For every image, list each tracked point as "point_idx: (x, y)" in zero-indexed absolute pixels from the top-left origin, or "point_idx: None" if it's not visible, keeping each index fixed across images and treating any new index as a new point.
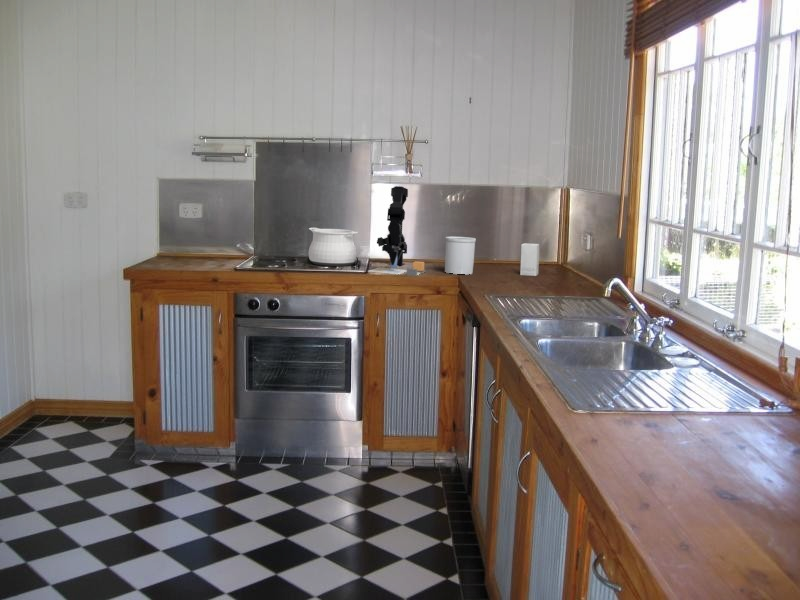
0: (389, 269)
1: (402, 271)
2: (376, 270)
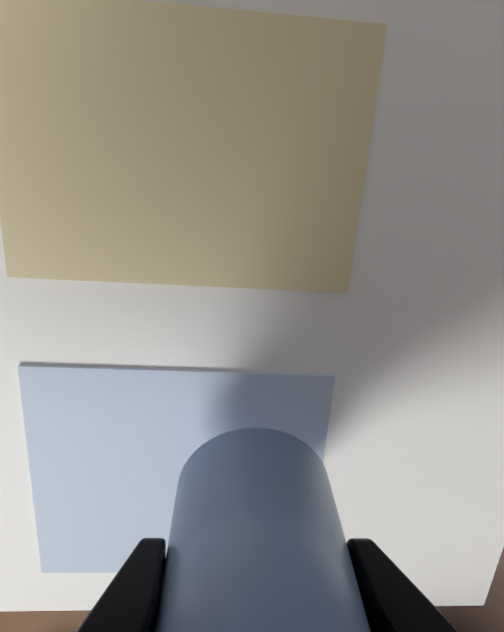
0: (425, 316)
1: None
2: (39, 100)
